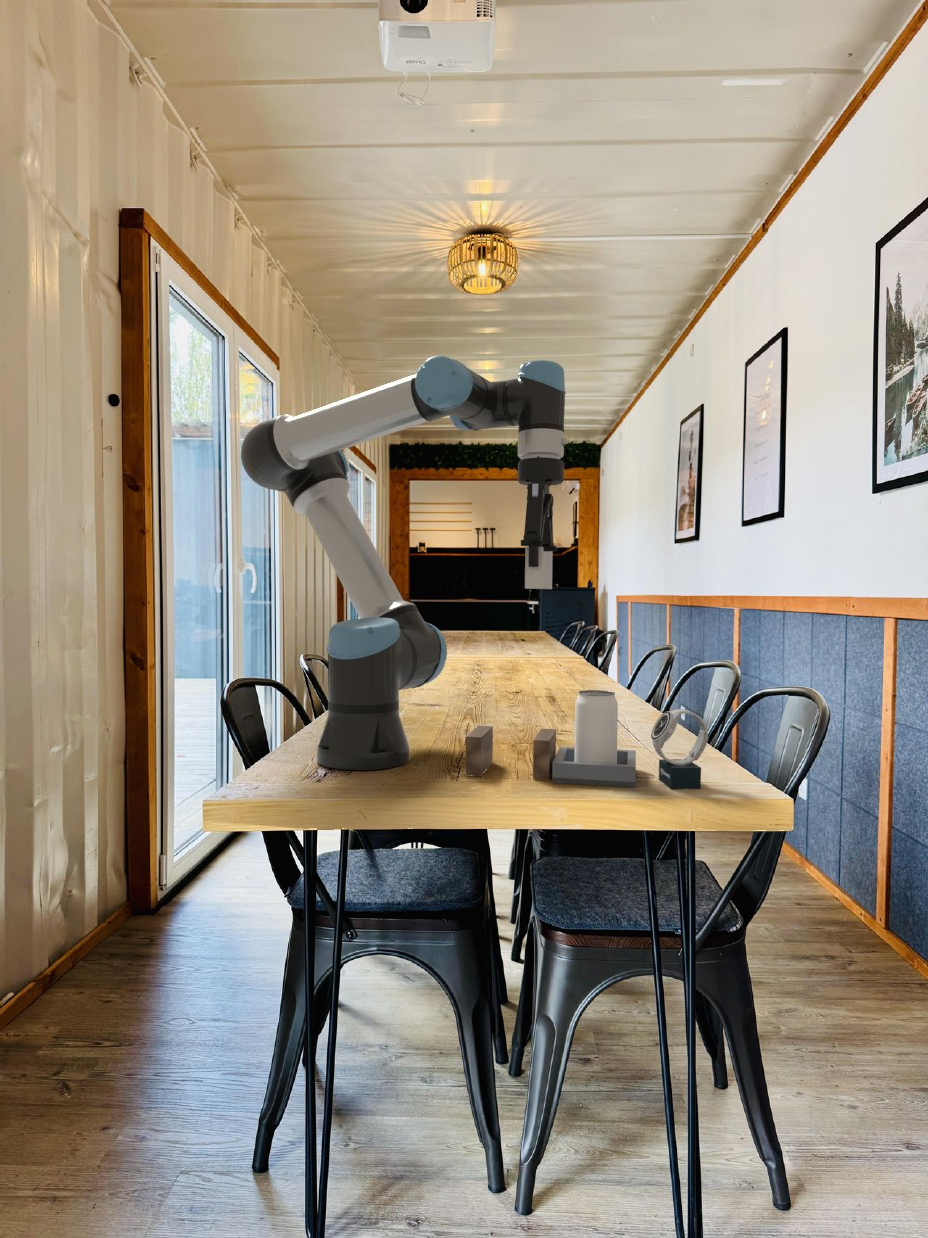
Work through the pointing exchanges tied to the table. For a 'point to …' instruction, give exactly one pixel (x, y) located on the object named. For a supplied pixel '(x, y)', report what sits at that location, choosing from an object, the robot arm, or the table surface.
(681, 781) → the watch
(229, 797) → the table surface
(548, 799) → the table surface
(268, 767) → the table surface
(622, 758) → the tray
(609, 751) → the can
